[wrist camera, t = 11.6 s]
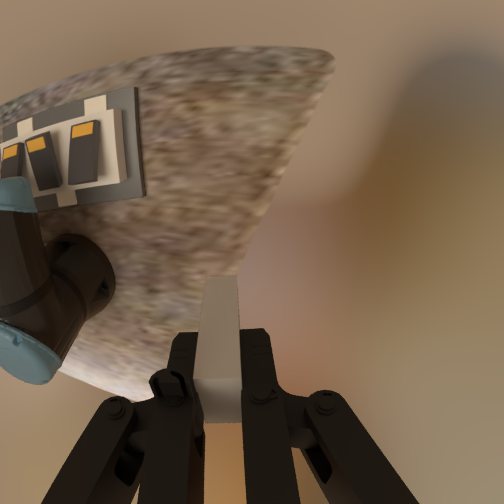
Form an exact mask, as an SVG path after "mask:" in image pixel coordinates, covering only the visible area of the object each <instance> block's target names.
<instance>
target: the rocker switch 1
mask: <svg viewBox="0 0 504 504" xmlns="http://www.w3.org/2000/svg"><path fill="white" fill-rule="evenodd" d="M23 152H24V143H21V142H18V143H15V144H13V145H10V146H8V147H5V148H3V157H2V170H1V179H3V178H9V177H16V176H21V177H22V166H23Z"/></svg>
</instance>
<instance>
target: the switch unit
mask: <svg viewBox="0 0 504 504" xmlns="http://www.w3.org/2000/svg"><path fill="white" fill-rule="evenodd" d="M96 119H97V120H98V121H99V122H100V131H99V149H98V181H96V182H90V183H84V184H78V185H73V186H72V185H68V162H69V144H70V132H71V126H72V125H75V124H79V123H83V122H87V121H91V120H96ZM47 131H50V134H51V139H52V143H53V147H54V151H55V155H56V159H57V163H58V167H59V170H60V174H61V177H62V181H63V184H62V185H61V186H60V187H58V188H53V189H48V190H43V191H39V189H38V186H37V183H36V180H35V177H34V173H33V170H32V167H31V163H30V160H29V156H28V152H27V148H26V144H25V140H26V139H28V138H29V137H32V136H35V135H38V134H41V133H44V132H47ZM3 141H4V143H1V144H0V149H1V159H2V157H3V148H5V147H8V146H10V145H13V144H15V143H18V142H21V143H24V152H23V166H22V177H24V178H25V179H27V180H28V181H29V183H30V185H31V189H32V194H33V199H34V203H35V207H36V208H37V210H38V212H41V211H47V210H53V209H59V208H65V207H72V206H79V205H86V204H93V203H101V202H109V201H117V200H126V199H135V198H143V197H144V196H145V195H146V194H145V186H144V177H143V168H142V158H141V146H140V133H139V118H138V97H137V88H136V87H130V88H125V89H121V90H116V91H112V92H107V93H103V94H99V95H95V96H92V97H88V98H84V99H81V100H77V101H74V102H70V103H67V104H64V105H61V106H58V107H55V108H52V109H49V110H46V111H43V112H41V113H38V114H35V115H32V116H30V117H27V118H25V119H22V120H20V121H17V122H15V123H13V124H10V125H8V126H6V127H4V128H3Z"/></svg>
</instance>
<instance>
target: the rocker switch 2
mask: <svg viewBox="0 0 504 504" xmlns="http://www.w3.org/2000/svg"><path fill="white" fill-rule="evenodd" d="M25 144H26V148H27V152H28V156H29V160H30V163H31V167H32V170H33V173H34V177H35V180H36V183H37V186H38V189H39V191H43V190H48V189H53V188H58V187H60V186H61V185H62V184H63V181H62V177H61V174H60V170H59V167H58V163H57V159H56V155H55V151H54V147H53V143H52V139H51V134H50V131H47V132H44V133H41V134H38V135H35V136H32V137H29V138H28V139H26V140H25Z"/></svg>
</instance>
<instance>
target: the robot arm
mask: <svg viewBox="0 0 504 504" xmlns="http://www.w3.org/2000/svg"><path fill="white" fill-rule="evenodd" d="M37 212H38V210H37V208H36V207H35V203H34V199H33V194H32V189H31V185H30V183H29V181H28V180H27V179H25V178H24V177H21V176H16V177H9V178H3V179H0V366H1V367H2V368H3V369H4V370H5V371H7V372H8V373H10V374H11V375H13V376H14V377H16V378H18V379H20V380H22V381H24V382H27V383H31V384H35V385H42V384H46V383H48V382H49V381H50V380H51V379H52V378H53V376H54V374H55V373H56V371H57V370H58V369H59V368H60V367H61V365H62V363H63V361H64V359H65V357H66V355H67V353H68V351H69V349H70V347H71V346H72V344H73V342H74V340H75V338H76V336H77V335H78V333H79V331H80V329H81V327H82V326H83V324H84V322H85V321H87V320H88V319H90V318H92V317H93V316H95V315H96V314H98V313H99V312H101V311H102V310H103V309H104V308H105V307H106V306H107V304H108V303H109V301H110V299H111V297H112V295H113V293H114V288H115V278H114V273H113V269H112V267H111V264H110V262H109V260H108V259H107V257H106V256H105V254H104V253H103V252H102V251H101V249H100V248H99V247H98V246H97V245H95V244H94V243H93V242H91V241H90V240H88V239H87V238H85V237H82V236H79V235H75V234H64V235H60V236H58V237H56V238H55V239H54V240H52V241H51V242H50V243H49V244H48V245H47V246H46V247H44V243H43V239H42V235H41V231H40V226H39V221H38V216H37ZM149 384H150V387H151V389H152V392H153V394H154V397H153V398H151V399H148V400H145V401H140V402H135V403H131V402H130V400H128V399H127V398H125V397H121V396H115V397H110V398H108V399H107V400H104V402H103V403H102V404H101V405H100V406H99V408H98V409H97V411H96V413H95V414H94V416H93V417H92V419H91V420H90V422H89V424H88V425H87V427H86V428H85V430H84V431H83V433H82V435H81V436H80V438H79V440H78V441H77V443H76V444H75V446H74V448H73V450H72V451H71V453H70V454H69V456H68V458H67V460H66V461H65V463H64V465H63V466H62V468H61V469H60V471H59V473H58V475H57V477H56V478H55V480H54V482H53V483H52V485H51V487H50V489H49V490H48V492H47V494H46V496H45V497H44V499H43V501H42V503H41V504H131V502H132V500H133V498H134V495H135V493H136V491H137V489H138V486H139V484H140V487H139V494H138V502H137V504H204V461H205V432H204V429H203V424H204V420H205V423H239V422H242V432H243V450H244V468H245V484H246V500H247V504H301V503H300V497H299V491H298V485H297V479H296V474H295V468H294V462H293V456H292V450H291V447H294V448H300V450H301V452H302V454H303V456H304V458H305V460H306V462H307V464H308V465H309V467H310V469H311V471H312V473H313V474H314V477H315V478H316V480H317V482H318V484H319V486H320V488H321V489H322V491H323V493H324V495H325V497H326V498H327V500H328V502H329V504H419V503H418V501H417V500H416V499H415V497H414V496H413V494H412V493H411V492H410V490H409V489H408V488H407V486H406V485H405V483H404V482H403V481H402V479H401V478H400V476H399V475H398V474H397V472H396V471H395V469H394V468H393V467H392V465H391V464H390V462H389V461H388V460H387V458H386V457H385V456H384V454H383V453H382V451H381V450H380V449H379V447H378V446H377V445H376V443H375V442H374V440H373V439H372V438H371V436H370V435H369V433H368V432H367V430H366V429H365V428H364V426H363V425H362V423H361V422H360V421H359V419H358V418H357V416H356V415H355V414H354V412H353V411H352V409H351V408H350V406H349V405H348V404H347V402H346V401H345V399H344V398H343V397H342V396H341V395H340V394H339V393H336V392H334V391H330V390H321V391H317V392H315V393H313V394H311V395H310V396H309V397H302V396H296V395H292V394H289V393H287V392H285V391H284V390H283V389H282V388H281V387H280V386H279V384H278V382H277V377H276V371H275V365H274V359H273V354H272V347H271V342H270V336H269V335H268V333H267V332H266V331H265V330H264V329H263V328H258V329H242V330H240V319H239V304H238V289H237V275H232V276H212V277H206V282H205V289H204V296H203V303H202V310H201V317H200V325H199V332H179V334H178V335H177V336H176V337H175V338H174V340H173V342H172V347H171V351H170V356H169V360H168V365H167V368H166V369H162V370H159V371H157V372H156V373H155V374H153V375H152V376H151V378H150V380H149Z"/></svg>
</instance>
